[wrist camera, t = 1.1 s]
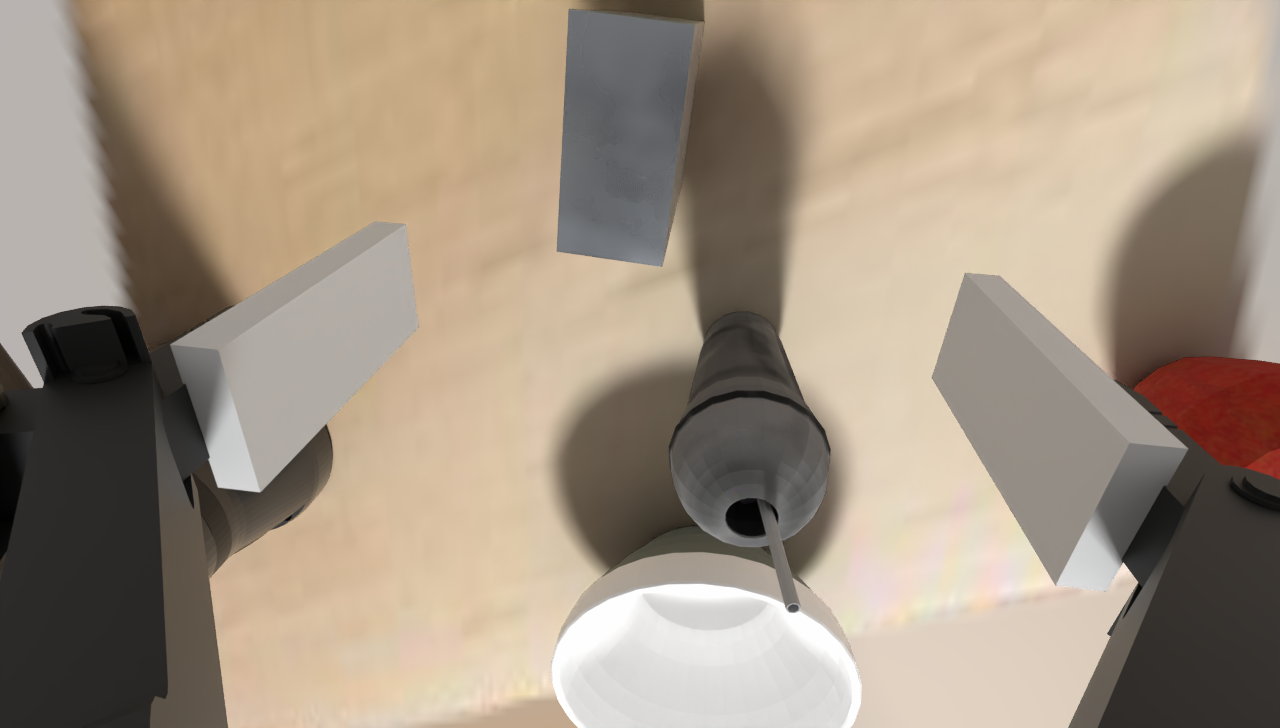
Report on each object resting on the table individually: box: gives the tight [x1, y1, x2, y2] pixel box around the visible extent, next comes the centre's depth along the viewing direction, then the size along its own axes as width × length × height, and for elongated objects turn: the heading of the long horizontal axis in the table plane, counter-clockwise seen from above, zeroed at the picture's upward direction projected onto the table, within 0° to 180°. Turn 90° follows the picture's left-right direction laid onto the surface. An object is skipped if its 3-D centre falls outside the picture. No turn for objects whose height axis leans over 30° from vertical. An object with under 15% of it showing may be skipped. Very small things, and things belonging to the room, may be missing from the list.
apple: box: [1133, 357, 1280, 480], centre depth 32 cm, size 11×11×12 cm
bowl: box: [551, 526, 862, 728], centre depth 45 cm, size 20×20×10 cm
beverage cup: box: [669, 312, 831, 614], centre depth 30 cm, size 7×7×20 cm
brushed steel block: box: [557, 9, 704, 267], centre depth 28 cm, size 4×8×13 cm, turn 174°
